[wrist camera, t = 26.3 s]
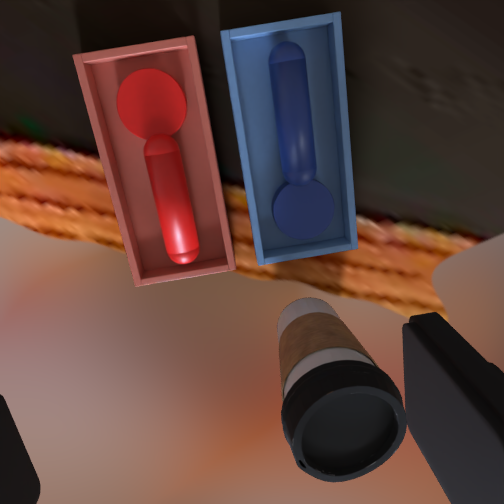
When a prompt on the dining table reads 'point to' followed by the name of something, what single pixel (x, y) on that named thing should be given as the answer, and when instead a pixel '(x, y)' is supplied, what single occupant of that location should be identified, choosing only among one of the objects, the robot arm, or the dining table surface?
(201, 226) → the rose tray
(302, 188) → the blue spoon
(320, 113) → the blue tray
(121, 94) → the red spoon
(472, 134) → the dining table surface
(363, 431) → the coffee cup
